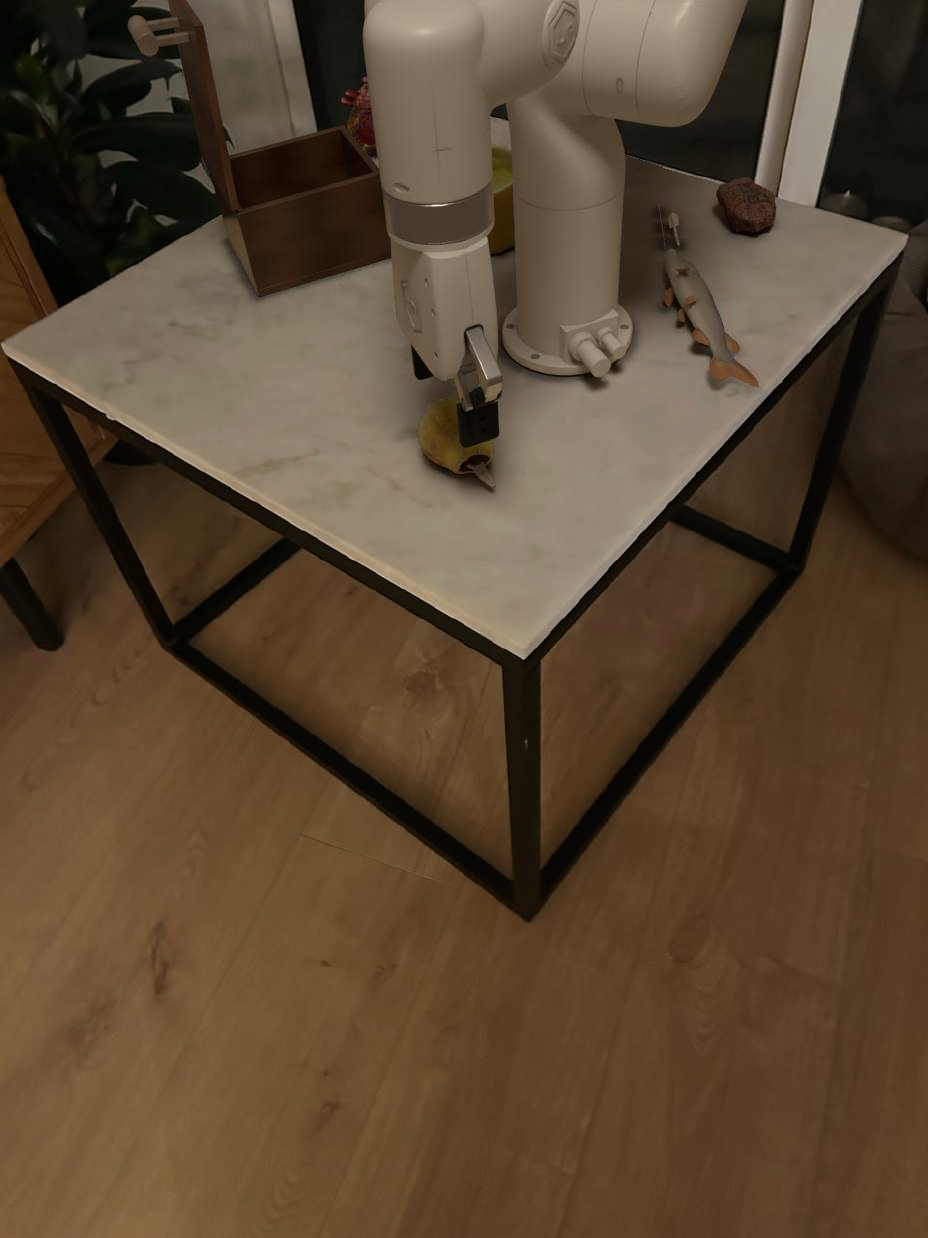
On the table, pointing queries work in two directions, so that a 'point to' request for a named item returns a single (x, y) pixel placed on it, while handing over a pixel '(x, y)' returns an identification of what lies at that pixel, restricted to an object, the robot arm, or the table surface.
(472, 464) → the fruit
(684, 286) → the fish
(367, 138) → the anatomical model
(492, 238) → the mug
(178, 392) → the table surface
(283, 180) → the box
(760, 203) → the stone
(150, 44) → the lid
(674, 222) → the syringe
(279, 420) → the table surface
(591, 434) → the table surface
